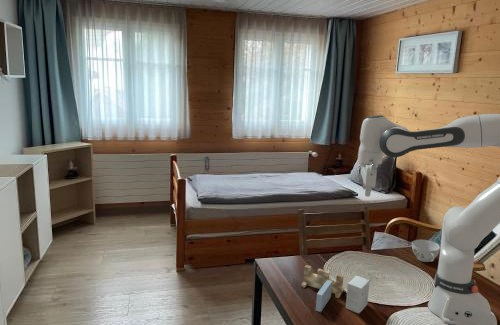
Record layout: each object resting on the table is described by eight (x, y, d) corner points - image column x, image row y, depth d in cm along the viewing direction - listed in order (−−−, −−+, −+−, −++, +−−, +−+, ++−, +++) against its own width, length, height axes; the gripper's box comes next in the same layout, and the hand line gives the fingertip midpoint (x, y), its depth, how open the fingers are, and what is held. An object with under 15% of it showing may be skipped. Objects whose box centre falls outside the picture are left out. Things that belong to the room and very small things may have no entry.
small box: (354, 299, 148) (356, 274, 146) (367, 304, 145) (370, 279, 142) (345, 308, 142) (347, 283, 140) (359, 314, 138) (361, 288, 136)
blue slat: (326, 295, 150) (327, 279, 149) (330, 297, 149) (332, 281, 148) (315, 310, 140) (316, 293, 139) (320, 312, 139) (321, 295, 138)
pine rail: (343, 290, 154) (345, 272, 152) (338, 298, 148) (340, 280, 147) (307, 279, 162) (308, 262, 160) (301, 286, 156) (302, 269, 154)
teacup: (406, 253, 189) (407, 238, 188) (431, 254, 189) (433, 239, 187) (418, 267, 175) (420, 252, 173) (445, 268, 174) (447, 252, 173)
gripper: (382, 164, 133) (377, 201, 136) (375, 153, 152) (371, 186, 155) (363, 162, 134) (359, 199, 137) (359, 152, 154) (356, 184, 157)
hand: (366, 192), depth 146 cm, fingers open, 8 cm apart
